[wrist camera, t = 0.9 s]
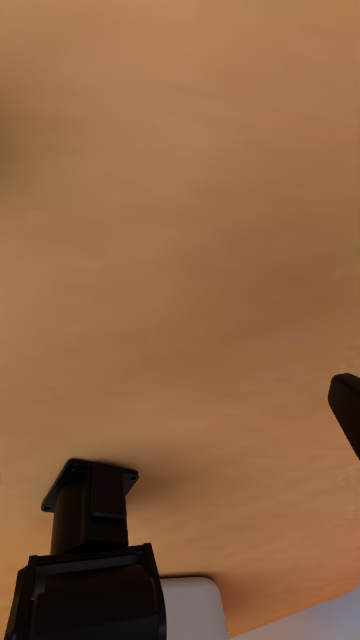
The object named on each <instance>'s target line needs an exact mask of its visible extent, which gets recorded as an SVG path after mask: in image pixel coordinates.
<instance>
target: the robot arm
mask: <svg viewBox="0 0 360 640" xmlns="http://www.w3.org/2000/svg"><path fill="white" fill-rule="evenodd" d="M328 403H329V405H330V407H331V409H332V411H333V413H334V415H335V417H336V419H337V420H338V422H339V424H340V426H341V428H342V430H343V432H344V433H345V435H346V437H347V439H348V441H349V443H350V445H351V446H352V448H353V450H354V452H355V453H356V455H357V457H358V458H359V460H360V378H359V377H357V376H354V375H352V374H350V373H343V374H338V375H335V376H333V378H332V380H331V384H330V389H329V393H328ZM138 478H139V476H138V472H137V471H135V470H129V469H123V468H118V467H112V466H107V465H101V464H95V463H90V462H84V461H78V460H70V461H68V462H67V463H66V464H65V466H64V468H63V469H62V471H61V473H60V474H59V476H58V478H57V479H56V481H55V483H54V484H53V486H52V488H51V489H50V491H49V493H48V494H47V496H46V497H45V499H44V501H43V502H42V506H41V510H42V511H44V512H52V513H54V520H53V530H52V540H51V550H50V555H46V556H38V555H32V556H29V561H28V565H27V566H26V567H24V568H23V569H21V570H19V571H18V575H17V581H16V587H15V593H14V598H13V603H12V607H11V611H10V616H9V620H8V624H7V628H6V633H5V637H4V640H167V618H166V607H165V600H164V595H163V590H162V586H161V582H160V578H159V574H158V570H157V566H156V562H155V558H154V554H153V549H152V545H151V543H144V544H143V545H137V546H128V544H129V542H128V530H127V518H126V517H127V512H126V500H125V496H126V495H127V493H128V492H129V491H130V489H131V488H132V487H133V485H134V484H135V483H136V481H137V480H138Z"/></svg>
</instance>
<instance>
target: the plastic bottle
mask: <svg viewBox="0 0 360 640" xmlns="http://www.w3.org/2000/svg"><path fill="white" fill-rule="evenodd" d="M160 582H161V586H162V590H163V595H164V600H165V607H166V618H167V640H230V639H229V634H228V629H227V624H226V620H225V615H224V610H223V605H222V600H221V595H220V591H219V589H218V586H217V585H216V584H215V583H214V582H213V581H212V580H210V579H208V578H205V577H185V578H167V579H160Z"/></svg>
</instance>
